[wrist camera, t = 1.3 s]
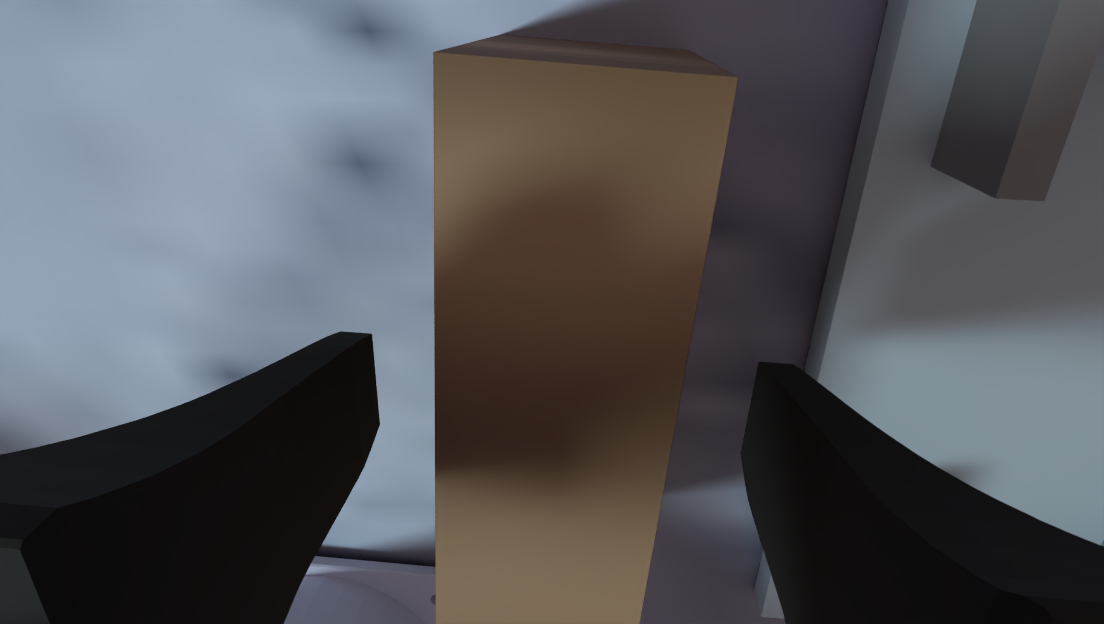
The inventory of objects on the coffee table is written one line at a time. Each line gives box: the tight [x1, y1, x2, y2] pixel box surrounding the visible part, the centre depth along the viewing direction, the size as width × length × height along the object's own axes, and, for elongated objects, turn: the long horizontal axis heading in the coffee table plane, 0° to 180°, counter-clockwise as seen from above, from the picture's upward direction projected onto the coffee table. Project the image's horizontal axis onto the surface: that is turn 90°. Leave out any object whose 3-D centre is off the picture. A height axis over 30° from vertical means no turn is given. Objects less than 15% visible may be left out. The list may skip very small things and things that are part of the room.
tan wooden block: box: [433, 35, 738, 624], centre depth 14 cm, size 12×4×6 cm, turn 176°
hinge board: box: [754, 0, 1104, 619], centre depth 14 cm, size 18×10×4 cm, turn 178°
